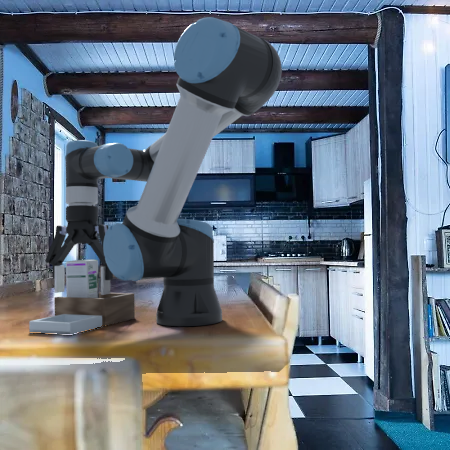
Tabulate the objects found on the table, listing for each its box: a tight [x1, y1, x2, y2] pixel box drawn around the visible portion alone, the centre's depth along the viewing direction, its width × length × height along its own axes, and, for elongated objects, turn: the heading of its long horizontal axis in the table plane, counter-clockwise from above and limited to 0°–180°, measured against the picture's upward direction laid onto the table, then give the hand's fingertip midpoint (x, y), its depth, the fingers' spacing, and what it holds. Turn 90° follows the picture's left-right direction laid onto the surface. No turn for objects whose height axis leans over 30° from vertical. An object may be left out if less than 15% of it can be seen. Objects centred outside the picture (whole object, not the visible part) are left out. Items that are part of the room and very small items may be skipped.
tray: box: [28, 314, 103, 334], centre depth 106 cm, size 10×10×2 cm
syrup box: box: [65, 259, 100, 298], centre depth 120 cm, size 6×6×14 cm
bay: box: [53, 292, 136, 326], centre depth 119 cm, size 14×12×6 cm
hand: (82, 293), depth 120 cm, fingers open, 13 cm apart
